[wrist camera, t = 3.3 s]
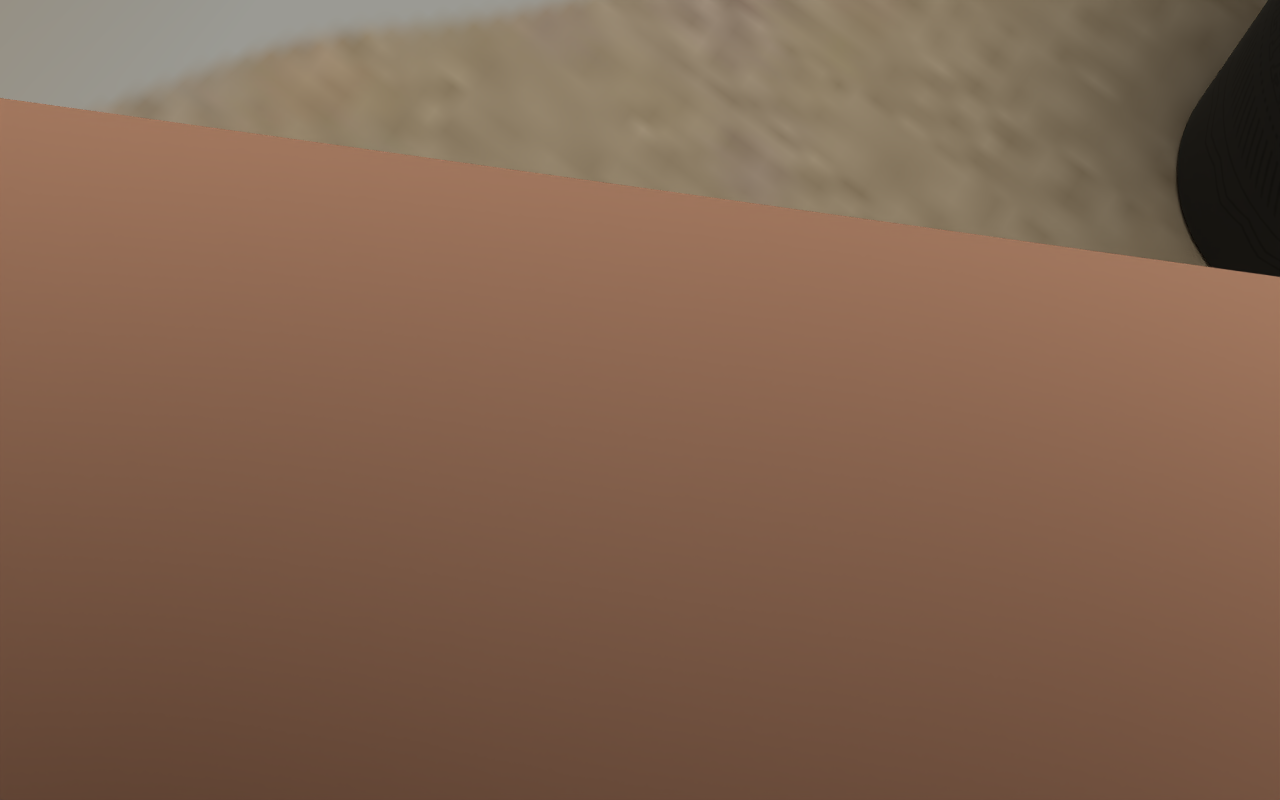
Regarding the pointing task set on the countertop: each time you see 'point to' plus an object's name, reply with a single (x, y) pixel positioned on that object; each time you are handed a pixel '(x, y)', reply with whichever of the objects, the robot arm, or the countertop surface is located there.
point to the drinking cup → (1237, 156)
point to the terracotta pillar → (608, 491)
